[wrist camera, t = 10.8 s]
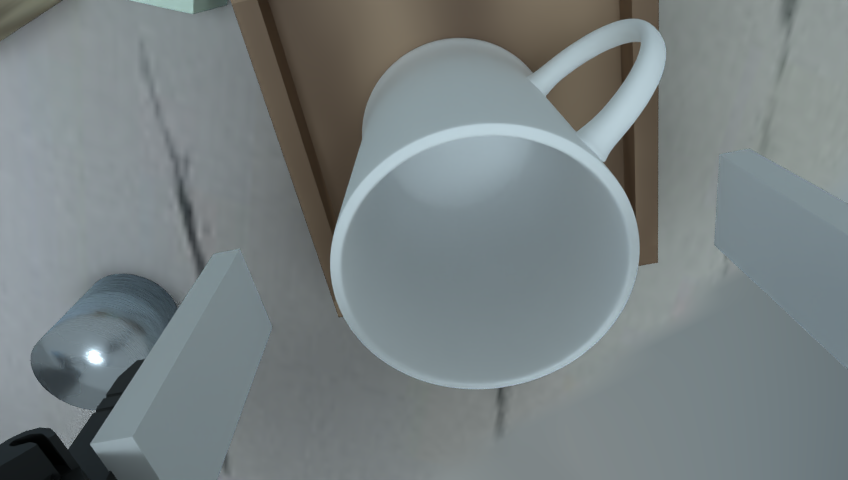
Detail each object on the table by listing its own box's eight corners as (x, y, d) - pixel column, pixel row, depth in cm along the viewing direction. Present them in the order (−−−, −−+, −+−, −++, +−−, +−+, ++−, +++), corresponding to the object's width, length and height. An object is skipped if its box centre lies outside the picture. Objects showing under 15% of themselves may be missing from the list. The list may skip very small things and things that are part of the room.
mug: (537, -70, 21) (660, -94, 10) (648, 98, 24) (832, 215, 13) (323, 127, 24) (249, 262, 14) (444, 251, 27) (460, 439, 17)
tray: (344, 290, 30) (338, 317, 27) (241, -27, 22) (221, -25, 20) (639, 238, 28) (657, 262, 26) (634, -119, 21) (659, -127, 19)
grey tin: (113, 352, 32) (64, 417, 27) (71, 282, 29) (9, 340, 25) (193, 338, 31) (156, 401, 27) (156, 266, 29) (109, 322, 25)
